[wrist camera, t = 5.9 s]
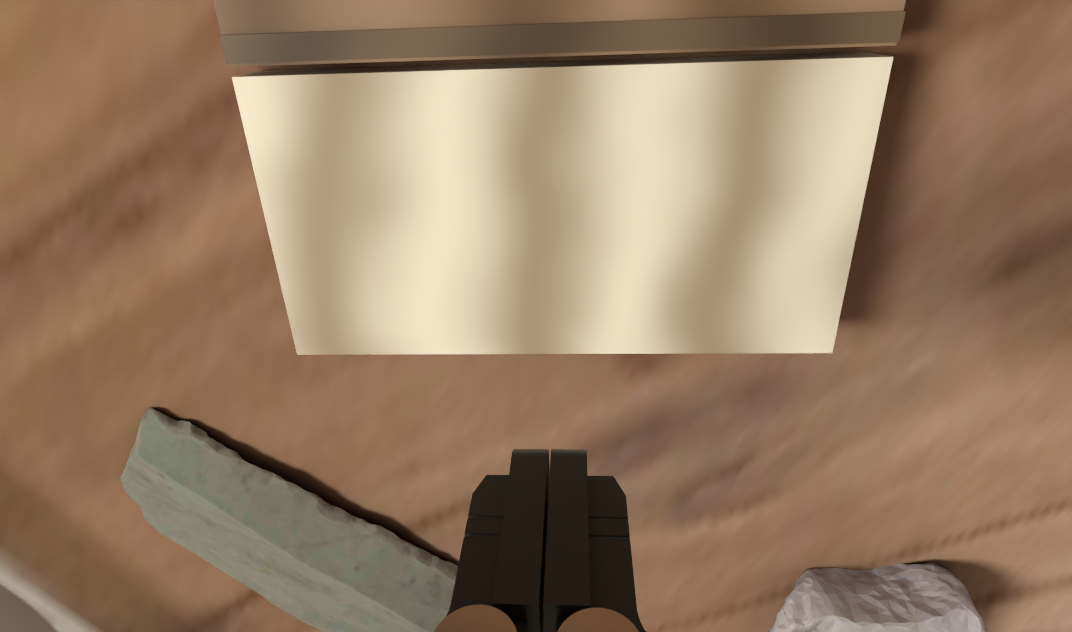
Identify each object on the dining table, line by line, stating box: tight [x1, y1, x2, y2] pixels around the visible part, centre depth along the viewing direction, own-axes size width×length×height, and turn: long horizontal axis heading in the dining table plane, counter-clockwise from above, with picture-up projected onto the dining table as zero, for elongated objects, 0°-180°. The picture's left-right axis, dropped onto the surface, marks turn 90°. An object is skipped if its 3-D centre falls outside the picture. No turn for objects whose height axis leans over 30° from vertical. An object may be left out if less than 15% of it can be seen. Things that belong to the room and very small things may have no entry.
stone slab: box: [120, 408, 458, 632], centre depth 33 cm, size 22×3×10 cm
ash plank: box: [232, 52, 893, 355], centre depth 22 cm, size 20×10×2 cm, turn 92°
